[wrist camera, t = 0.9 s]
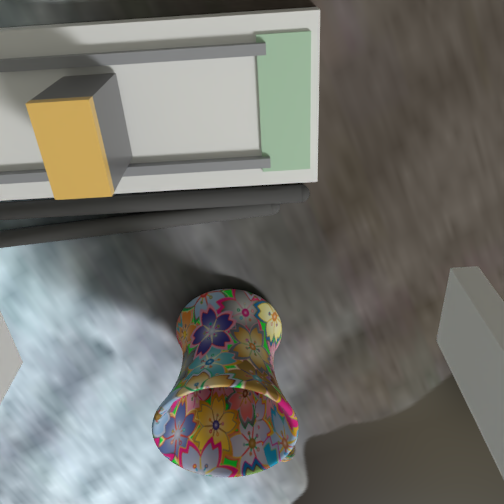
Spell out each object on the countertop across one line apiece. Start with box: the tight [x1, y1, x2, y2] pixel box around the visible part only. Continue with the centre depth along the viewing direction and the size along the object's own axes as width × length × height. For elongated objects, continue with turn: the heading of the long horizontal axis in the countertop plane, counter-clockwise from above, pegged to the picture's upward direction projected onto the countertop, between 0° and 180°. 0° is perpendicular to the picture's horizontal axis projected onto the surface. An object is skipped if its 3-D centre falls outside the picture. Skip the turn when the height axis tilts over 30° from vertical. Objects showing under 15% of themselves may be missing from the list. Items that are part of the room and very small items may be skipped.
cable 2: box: [0, 204, 280, 248], centre depth 34 cm, size 23×1×1 cm, turn 97°
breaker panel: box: [0, 7, 320, 201], centre depth 29 cm, size 26×10×2 cm, turn 93°
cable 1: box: [0, 185, 310, 220], centre depth 33 cm, size 25×1×1 cm, turn 93°
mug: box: [152, 289, 298, 477], centre depth 36 cm, size 12×9×11 cm
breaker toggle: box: [26, 73, 133, 200], centre depth 26 cm, size 3×5×6 cm, turn 3°
